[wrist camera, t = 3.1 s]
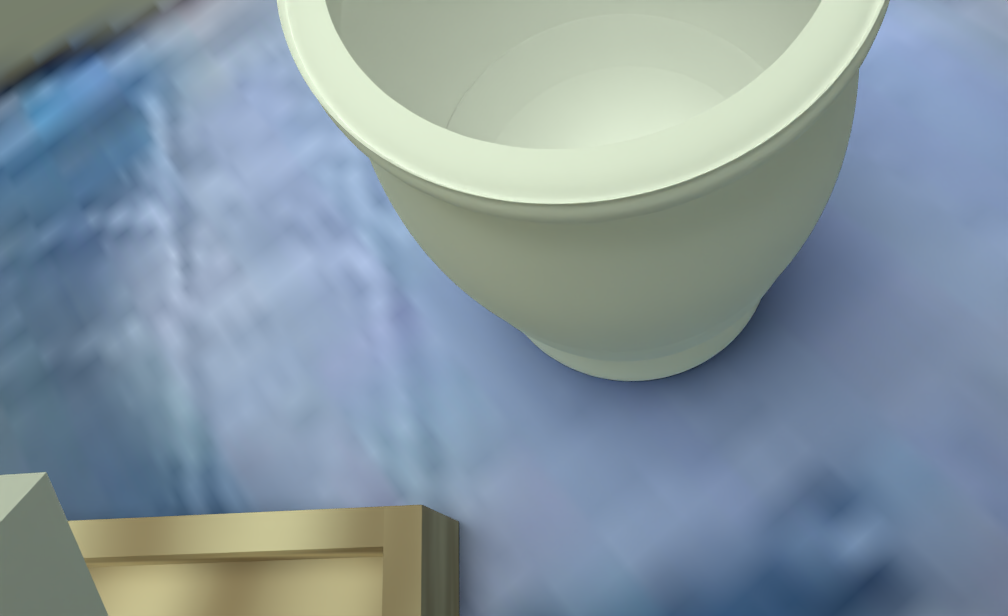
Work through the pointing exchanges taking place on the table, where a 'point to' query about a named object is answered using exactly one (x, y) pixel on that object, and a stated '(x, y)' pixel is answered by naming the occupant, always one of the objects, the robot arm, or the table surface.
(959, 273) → the table surface
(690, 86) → the jar
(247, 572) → the holder
